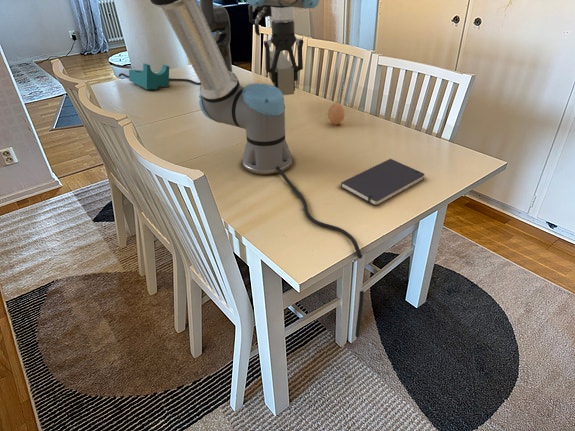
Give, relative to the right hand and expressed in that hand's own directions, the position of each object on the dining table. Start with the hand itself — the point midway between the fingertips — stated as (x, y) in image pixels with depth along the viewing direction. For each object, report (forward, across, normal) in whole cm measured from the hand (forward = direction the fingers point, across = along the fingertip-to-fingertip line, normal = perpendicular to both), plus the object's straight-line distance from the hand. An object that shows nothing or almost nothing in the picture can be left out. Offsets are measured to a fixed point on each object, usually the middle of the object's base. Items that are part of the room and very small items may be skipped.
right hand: (284, 90), depth 146 cm
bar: (+1, 0, -9) cm, 9 cm away
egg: (+12, -18, +7) cm, 22 cm away
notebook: (+12, -19, +50) cm, 55 cm away
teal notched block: (+12, +54, -59) cm, 81 cm away
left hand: (-15, +2, -21) cm, 26 cm away
